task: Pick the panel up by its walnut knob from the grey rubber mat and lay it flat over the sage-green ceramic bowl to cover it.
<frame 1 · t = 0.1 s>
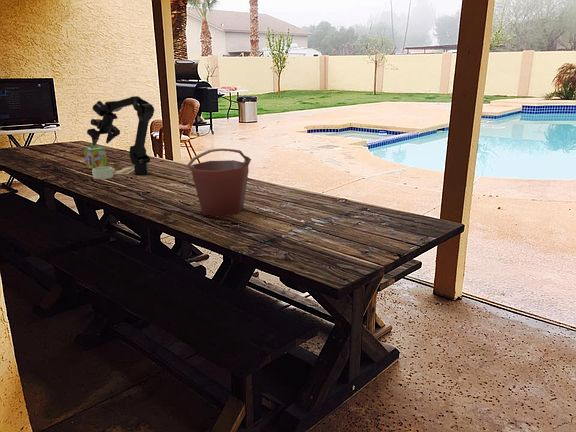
hand: (100, 144, 277), 15 cm above the table, tool tilted 30°, fingers open, 9 cm apart
bucket: (222, 211, 194), on the table
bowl: (103, 177, 260), on the table
mat: (118, 171, 274), on the table
panel: (118, 167, 273), on the mat
chalk box: (97, 167, 288), on the table
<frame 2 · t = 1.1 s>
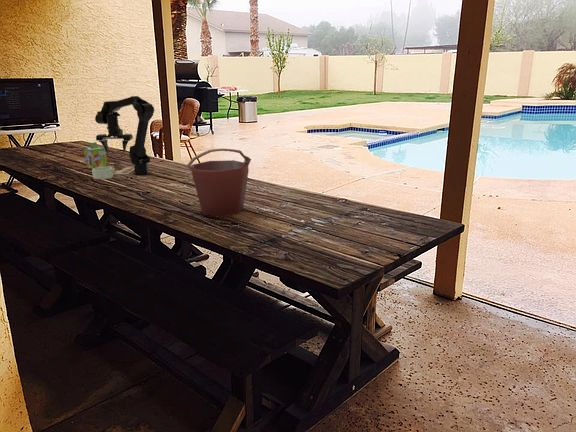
hand: (116, 152, 271), 11 cm above the table, tool pointing down, fingers open, 9 cm apart
nothing on the table moved.
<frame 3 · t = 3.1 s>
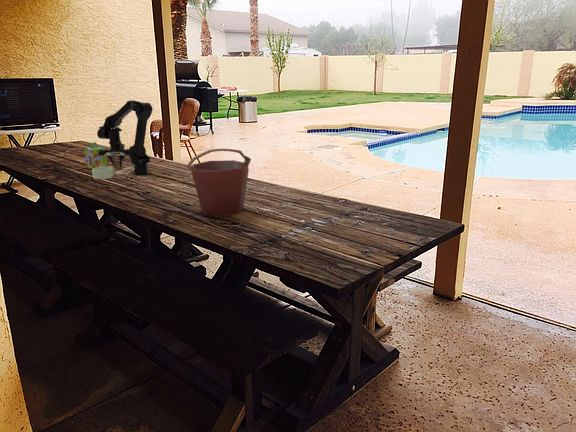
hand: (118, 167, 273), 3 cm above the table, tool pointing down, fingers closed on panel, 3 cm apart
panel: (118, 167, 273), on the mat, touching gripper
everything else where it was.
when the fingers open (8 cm above the table, at t = 6.7 s): panel drops 1 cm, resting on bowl.
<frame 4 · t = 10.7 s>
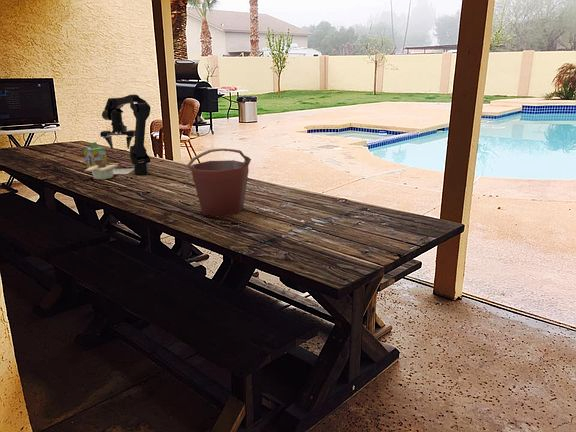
hand: (120, 148, 274), 12 cm above the table, tool pointing down, fingers open, 9 cm apart
panel: (101, 164, 258), on the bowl, point 7 cm above the table
everything else where it was.
at the end: panel 0.1 cm off-centre on the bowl, point 7.4 cm above the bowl's base; panel tilted 0°; the gripper is holding nothing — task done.
